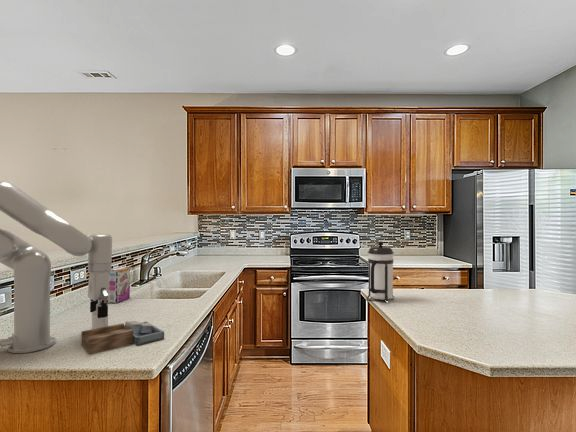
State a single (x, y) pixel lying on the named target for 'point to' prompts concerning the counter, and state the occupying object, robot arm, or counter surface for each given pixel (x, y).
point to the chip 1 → (133, 326)
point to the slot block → (106, 338)
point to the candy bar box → (119, 284)
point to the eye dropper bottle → (98, 320)
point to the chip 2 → (146, 328)
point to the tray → (147, 336)
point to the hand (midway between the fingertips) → (98, 314)
